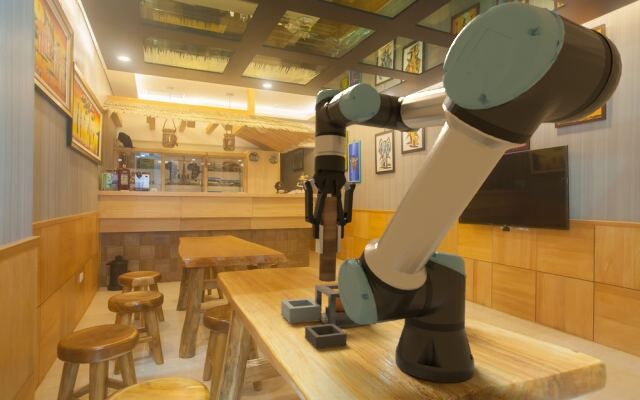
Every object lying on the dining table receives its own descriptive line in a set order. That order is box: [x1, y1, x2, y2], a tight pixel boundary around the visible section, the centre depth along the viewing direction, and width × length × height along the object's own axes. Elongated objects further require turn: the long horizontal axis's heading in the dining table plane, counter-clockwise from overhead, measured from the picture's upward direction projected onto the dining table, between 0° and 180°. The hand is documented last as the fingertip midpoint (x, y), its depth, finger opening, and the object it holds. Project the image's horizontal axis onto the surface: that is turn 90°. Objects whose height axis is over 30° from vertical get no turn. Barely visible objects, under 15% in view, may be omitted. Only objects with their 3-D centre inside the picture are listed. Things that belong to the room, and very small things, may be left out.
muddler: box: [318, 196, 337, 283], centre depth 86 cm, size 4×4×20 cm
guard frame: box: [314, 283, 371, 329], centre depth 100 cm, size 12×12×9 cm
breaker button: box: [336, 297, 345, 312], centre depth 100 cm, size 4×4×4 cm
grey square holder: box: [280, 297, 322, 324], centre depth 101 cm, size 9×9×4 cm
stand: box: [304, 324, 348, 349], centre depth 84 cm, size 8×8×2 cm
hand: (328, 252), depth 86 cm, fingers closed on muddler, 4 cm apart
